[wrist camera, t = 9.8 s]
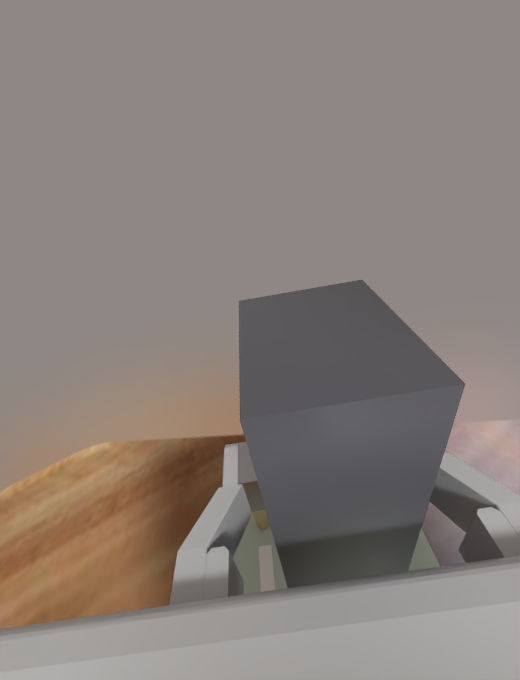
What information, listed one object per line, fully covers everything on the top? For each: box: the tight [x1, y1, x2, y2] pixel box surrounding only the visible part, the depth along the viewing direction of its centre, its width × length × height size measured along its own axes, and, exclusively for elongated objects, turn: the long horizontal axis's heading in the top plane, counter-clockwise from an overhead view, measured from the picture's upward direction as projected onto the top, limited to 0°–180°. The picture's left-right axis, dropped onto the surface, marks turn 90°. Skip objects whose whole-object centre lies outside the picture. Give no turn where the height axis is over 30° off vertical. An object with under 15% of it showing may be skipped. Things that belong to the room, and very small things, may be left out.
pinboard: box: [233, 510, 440, 594], centre depth 16 cm, size 16×18×6 cm
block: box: [239, 280, 465, 588], centre depth 11 cm, size 4×5×12 cm
